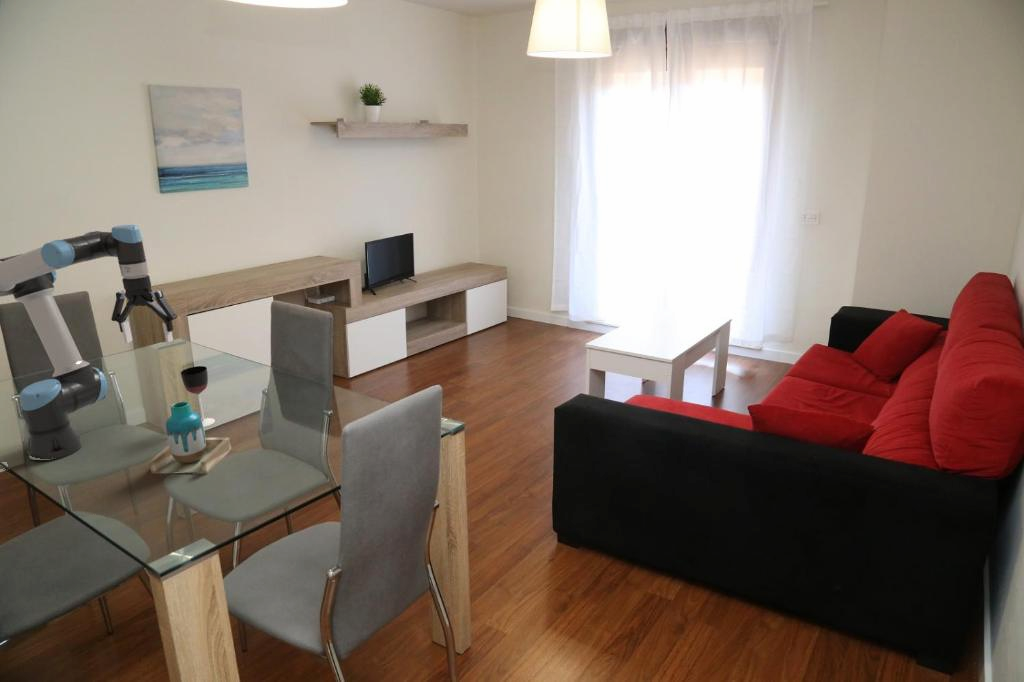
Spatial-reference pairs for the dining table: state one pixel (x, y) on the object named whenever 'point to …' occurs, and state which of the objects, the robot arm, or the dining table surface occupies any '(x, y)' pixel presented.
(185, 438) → the vase
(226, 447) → the rest
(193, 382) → the wineglass
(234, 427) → the dining table surface
